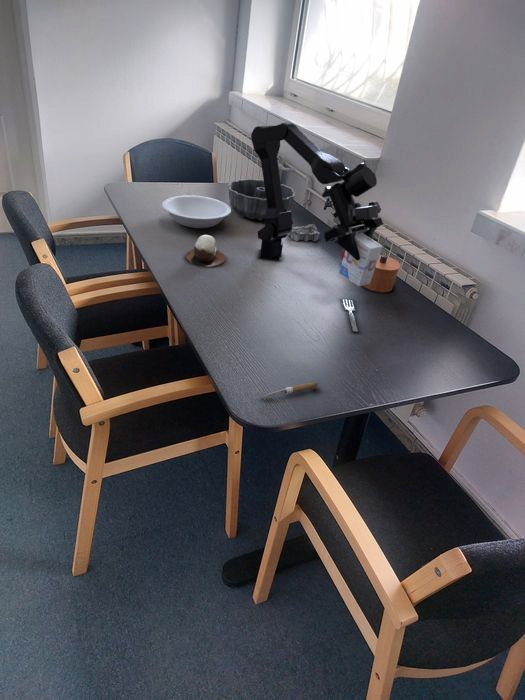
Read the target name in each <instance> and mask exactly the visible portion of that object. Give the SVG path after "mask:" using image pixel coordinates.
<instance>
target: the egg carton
mask: <svg viewBox="0 0 525 700" xmlns="http://www.w3.org/2000/svg"><path fill="white" fill-rule="evenodd" d="M317 228H318V227H316V224H315V223H311V224H306V225H302V226H294V227H292V230H291V231H290V233H288V234H287V236H289V237H290V238H291V240H293V241H295V242H298V241H304V242H308V241H312V242H317V241H318V240H319V237H320V235H321V233H320V232H319V230H318V229H317Z"/></svg>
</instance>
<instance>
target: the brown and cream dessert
mask: <svg viewBox="0 0 525 700" xmlns="http://www.w3.org/2000/svg"><path fill="white" fill-rule="evenodd" d="M217 246H218V245H217V241H216V239H215V238H214V236H212V235H209V234H203V235H200V236H199V237H198V238H197V239H196V241H195V244H194V246H193V249H190V250H189V251H187V252H186V254H185V258H186V260H187V261H188V262H189V263H191V264H193V265H195V266H199V267H215V266H219V265H221V264H223V263H224V262H225V261H226V257H225V254H224V253H223V252H221V251H220V250H217Z"/></svg>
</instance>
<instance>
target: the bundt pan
mask: <svg viewBox="0 0 525 700" xmlns="http://www.w3.org/2000/svg"><path fill="white" fill-rule="evenodd" d="M226 187H227V188H228V189H227V190H228V199H229V204H230V205H229V206H230V207H231V208H232V210H233V211H234V212H235V213H237V214H239V215H240V217H242V218H246V217H247V218H248V219H250V220H255V219H257V220H258V221H260V222H261V221H262V220H264V221H265V216H266V213H267V210H268V206H267V199H266V193H265V186H264V179H254V178H246V179H244V178H243V179H237V180H233V181H230V182H229V184H227V186H226ZM281 191H282V198H283V205H284V207H285V209H286V210H287V211H291V208H292V204H293V201H294V198H295V196H296V194H297V192H296V191H294V189H293V188H292V187H289V186H287V185H286V184H282V183H281Z"/></svg>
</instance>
